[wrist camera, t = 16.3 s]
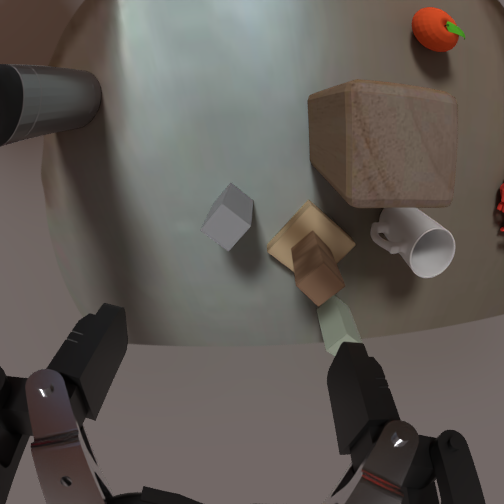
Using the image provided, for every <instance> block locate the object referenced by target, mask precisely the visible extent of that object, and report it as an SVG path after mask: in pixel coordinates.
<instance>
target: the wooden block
mask: <svg viewBox="0 0 504 504" xmlns="http://www.w3.org/2000/svg"><path fill="white" fill-rule="evenodd" d="M308 118H309V142H310V161H311V163H312V165H313V166H314V167H315V168H316V169H317V171H318V172H319V173H320V174H321V175H322V176H323V177H324V178H325V179H326V180H327V181H328V182H329V183H330V184H331V186H332V187H333V188H334V189H335V190H336V191H337V192H338V193H339V194H340V195H341V197H342V198H343V199H344V200H345V201H346V202H347V203H348V204H349V205H351V206H353V207H355V208H442V207H447V206H449V205H450V204H451V202H452V200H453V193H454V183H455V173H456V159H457V139H458V104H457V101H456V98H455V97H453V96H451V95H450V94H449V93H447V92H445V91H440V90H435V89H429V88H424V87H418V86H411V85H404V84H397V83H389V82H380V81H370V80H358V79H356V80H353V81H350V82H347V83H344V84H340V85H337V86H334V87H331V88H328V89H325V90H323V91H320V92H317V93H314V94H312V95H310V96H309V98H308Z"/></svg>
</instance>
